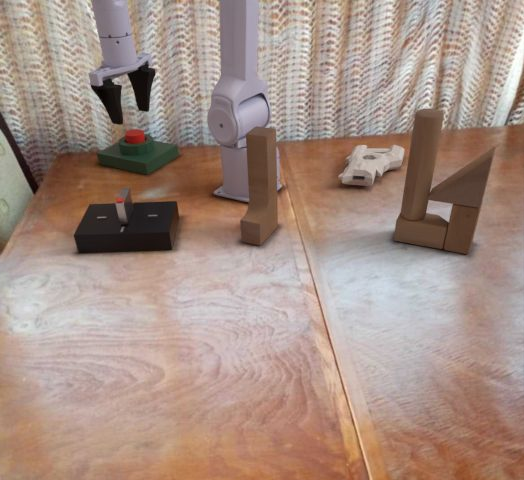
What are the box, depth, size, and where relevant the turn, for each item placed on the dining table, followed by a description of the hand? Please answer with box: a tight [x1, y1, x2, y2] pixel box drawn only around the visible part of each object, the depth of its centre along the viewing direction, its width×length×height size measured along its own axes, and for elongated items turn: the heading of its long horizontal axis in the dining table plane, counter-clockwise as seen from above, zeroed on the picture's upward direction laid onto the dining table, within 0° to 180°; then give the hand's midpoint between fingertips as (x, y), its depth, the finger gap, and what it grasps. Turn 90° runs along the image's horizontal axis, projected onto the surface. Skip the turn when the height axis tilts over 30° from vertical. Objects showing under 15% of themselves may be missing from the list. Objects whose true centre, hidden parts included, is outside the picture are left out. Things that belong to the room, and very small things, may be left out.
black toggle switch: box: [73, 200, 180, 254], centre depth 83 cm, size 14×10×3 cm
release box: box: [96, 133, 180, 176], centre depth 105 cm, size 12×10×4 cm
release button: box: [124, 128, 145, 144], centre depth 103 cm, size 4×4×2 cm
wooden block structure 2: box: [393, 107, 497, 255], centre depth 73 cm, size 4×11×18 cm, turn 66°
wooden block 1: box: [239, 126, 279, 246], centre depth 78 cm, size 7×3×15 cm, turn 155°
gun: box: [338, 144, 406, 187], centre depth 97 cm, size 18×3×10 cm
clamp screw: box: [114, 187, 134, 225], centre depth 80 cm, size 5×1×4 cm, turn 0°
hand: (131, 117), depth 101 cm, fingers open, 7 cm apart
